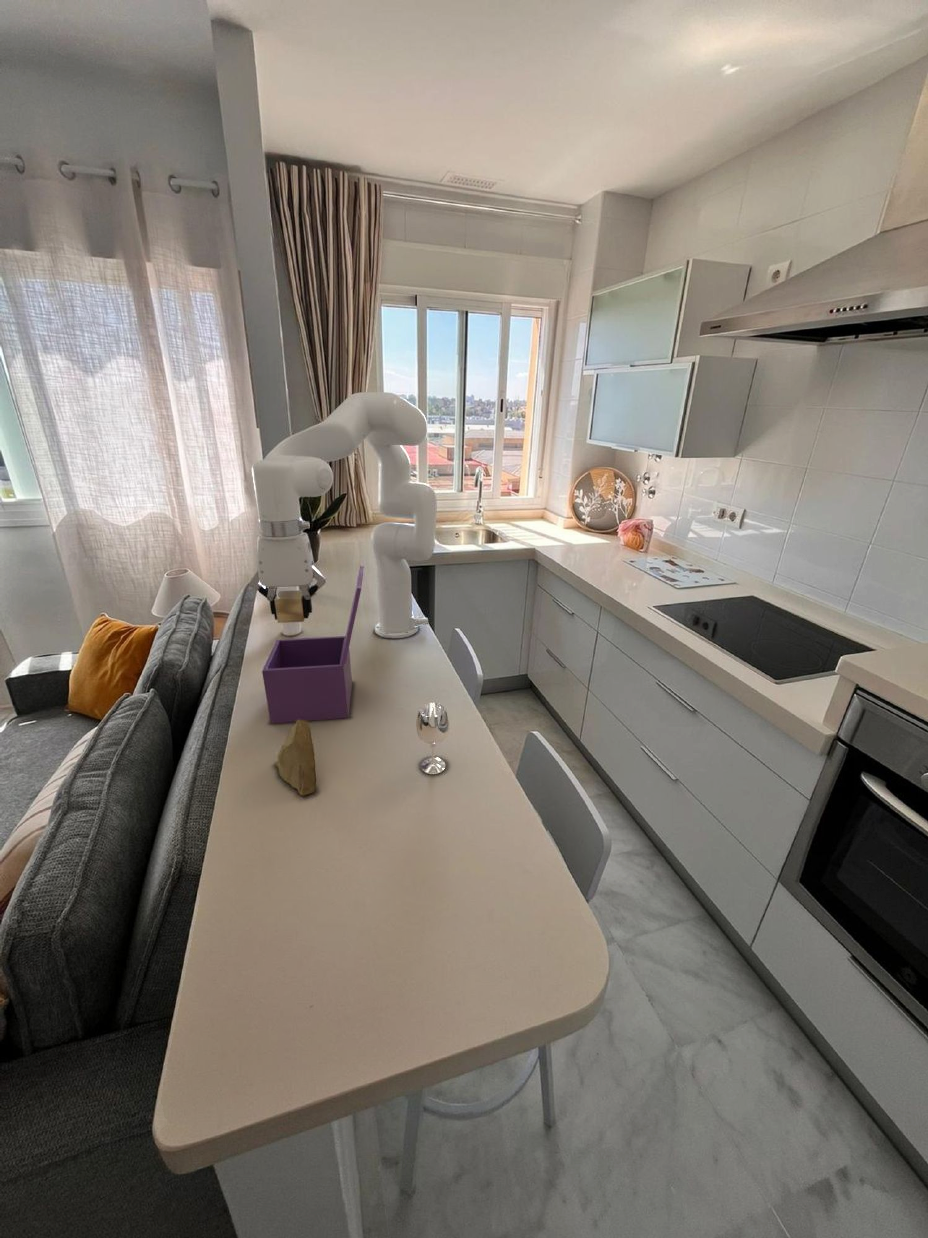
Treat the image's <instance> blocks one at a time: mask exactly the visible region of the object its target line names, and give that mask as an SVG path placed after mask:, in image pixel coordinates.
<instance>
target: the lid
mask: <svg viewBox="0 0 928 1238" xmlns="http://www.w3.org/2000/svg"><path fill="white" fill-rule="evenodd" d="M364 570H365V566H363V565H359V569H358V575H357V580H356V585H355V588H354V589H355V590H354V594H353V599H352V603H351V608H350V614H349V618H348V623H347V627H346V632H345V636H346V638H345V644H344V650H343V656H342V662H341V664H345V663H346V659H347V654H348V649H349V650H350V644H351V641H352V635H353V630H354V625H355V620H356V616H357V611H358V608H359V607H358V606H359V601H360V597H361V592H362V587H363V578H364Z"/></svg>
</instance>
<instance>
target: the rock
mask: <svg viewBox="0 0 928 1238" xmlns="http://www.w3.org/2000/svg"><path fill="white" fill-rule="evenodd" d="M275 766H276V767H277V769H278V774H279V777H281V778H282V779H283V781H284V782H286V783H287V784H289V785H290V786H291V787H292V788H294V789H296V790H297V791H298V794H299V795H300V796H302V797H303V796H307V795H309V794H313V793H315V792H316V787H317V784H316V783H317V771H316V758H315V749H314V743H313V738H312V730H311V725H310V721H305V720H301V719H298V720H297V721H296V722H294V724H293V725H292V727H291V729H290V731H288V734H287V736H286V737H285V742H284V743H283V744H282V745H281V748H280V750H279V753H278V755H277V761H276V763H275Z"/></svg>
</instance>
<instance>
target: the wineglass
mask: <svg viewBox="0 0 928 1238" xmlns="http://www.w3.org/2000/svg"><path fill="white" fill-rule="evenodd" d="M415 730H416V734H417V736H418V737H419V740H421V741H422V742H424V743H426V744H429V746H430V750H431V757H429V758H426V759H424V760H423V761H422V762H421V764H420V769H421V770H422V771H423V772H424V773H425V774H428V775H437V774H440V773H442V772H443V771H445V769H446V765H447V764H446V762H445V761H444V760H443V759H441V758H439V757H435V750H436V746H437V744H439V743H441V742H443V741H444V740H445V739H446V738H447V737H448V735H449V731H450V720H449V715H448V711H447V708H446V706H445V705H443V704H442V703H439V702H427V703H424V704H422V705H421V706H420V707H419V708H418V712H417V716H416V722H415Z"/></svg>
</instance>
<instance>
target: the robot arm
mask: <svg viewBox="0 0 928 1238" xmlns="http://www.w3.org/2000/svg"><path fill="white" fill-rule="evenodd" d="M428 427H429V426H428V420H427V419H426V416H425V414H424V413H423V411H421V410H420V409H419V408H418V407H417V406H416V405H414V404H412V402H409V401H408V400H406V399H405V398H403V397H401V396H400V395H398V394H396V393H392V392H385V391H384V392H383V391H381V392H379V391H378V392H377V391H373V392H372V391H371V392H368V391H367V392H365V391H363V392H362V391H361V392H354V393H353V394H350V395H349V396H348V397H346V399H344V401H342V402H341V403H340V404H339V406H337V407H336V408H335V409H334V410H333V411H332V412H331V413H330V414H329V415H328V416H327V417H326V418H325V419H324V420H323V421H322V422H320V423H317V424H314V425H312V426H310V427H308V428H306V429H304V430H301V431H298V432H296V433H294V434H292V435H290V436H288V437H286V438H284V439H283V440H282V441H280V442H279V443H278V444H277V445H276V446H275V447H273V448H272V449H271V450H270V451H269V453H267V455H265V457H264V458H263V460H257V461H254V462H253V464H252V465H251V475H252V483H253V490H254V496H255V502H256V509H257V516H258V523H259V531H260V533H259V534H258V536H257V543H256V554H257V555H256V557H257V571H256V572H255V574H254V575H253V577H252V578H251V579H250V581H249V582H248V586H249V587H251V588H252V589H253V590H255V591H257V592H258V593H259V594H260V595H262V596H263V597H265V598H266V600H267V601H268V602H269V606H270V613H271V615H273V616H274V620H275V621H277V614H276V607H275V598H276V596H277V594H276V592H277V587H291V586H299V587H300V589H301V591H302V593H303V600H302V603H303V612H304V618H305V619H309V617H310V614H312V613H313V603H312V597H313V596H314V595H315V594H316V592H317V591H318V590H319V589H321V588H322V587H323V586H324V585H326V583H327V578H326V577H325V576H324V575H323V574H322V573H321V572H320V570H318V569H317V568H316V566H315V561H314V556H313V550H312V546H311V541H310V538H309V535H308V533H307V532H304V531H305V530H306V529H307V530H308V529H310V527H311V526H310V521H305V520H304V519H303V518H302V515H301V506H300V505H301V504H300V498H316V497H320V496H323V495H325V494H327V492H329V490H331V488H332V486H333V483H334V473H333V470H332V467H331V466H330V465H329V464H328V463H329V462H335V461H339V460H341V459H344V458H347V457H349V456H351V455H352V454H353V453H355V451H356V450H357V449H358V448H359V446H360V445H361V444H362V443H363V442H364V441H365V440H367V442H368V443H369V445H370V447H371V448H372V451H373V452H374V454H375V457H376V460H377V467H378V469H377V470H378V475H377V506H378V511H379V512H380V513H381V514H382V515H383V516H385V517H389V518H395V519H403V520H404V519H406V520H413V524H411V523H402V522H390V521H389V522H388V521H387V522H381V523H379V524H377V525H375V526H374V528H373V529H372V531H371V535H370V545H371V548H372V552H373V553H372V554H373V557H374V560H375V569H376V582H377V585H376V586H377V599H378V602H377V603H378V618H379V619H378V620H379V621H378V622H377V623H376V624H375V625H374V633H375V634H376V635H377V636H379V637H381V638H386V639H403V638H408V637H410V636H412V635H414V634H416V633H417V632H418V631H419V626H420V625H429V618H428V617H424V615H417V616H416V615H414V611H413V595H412V593H413V592H412V573H411V568H410V565H409V564H408V562H407V561H413V562H414V561H415V562H426V561H428V560H430V559H431V558H432V556H433V554H434V551H435V544H436V532H437V531H436V529H437V511H438V501H437V495H436V491H435V490H434V488H433V487H432V486H431V485H430V484H428V483H424V482H412V481H411V479H412V477H411V474H412V473H411V472H412V470H411V469H412V468H411V465H412V463H411V460H410V457H409V455H408V453H407V451H406V450H405V448H404V446H405V447H406V446H407V447H417V446H420V445H422V444H423V442H425V440H426V439H427V435H428ZM314 579H315V580H316V581H315V583H313V580H314ZM311 583H312V584H313V585H312V586H311V587H310V586H309V585H310V584H311ZM418 625H419V626H418Z"/></svg>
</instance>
